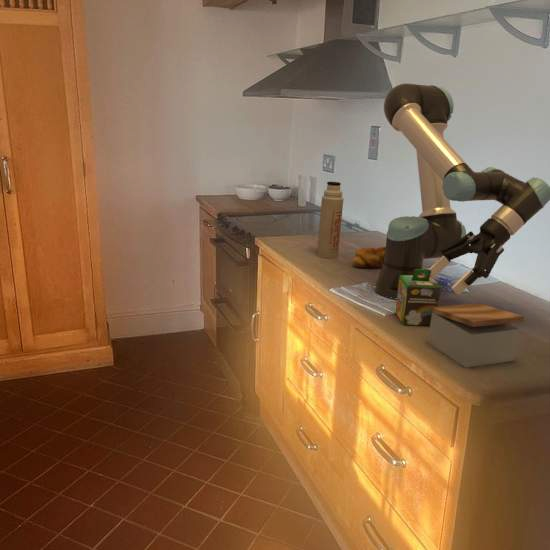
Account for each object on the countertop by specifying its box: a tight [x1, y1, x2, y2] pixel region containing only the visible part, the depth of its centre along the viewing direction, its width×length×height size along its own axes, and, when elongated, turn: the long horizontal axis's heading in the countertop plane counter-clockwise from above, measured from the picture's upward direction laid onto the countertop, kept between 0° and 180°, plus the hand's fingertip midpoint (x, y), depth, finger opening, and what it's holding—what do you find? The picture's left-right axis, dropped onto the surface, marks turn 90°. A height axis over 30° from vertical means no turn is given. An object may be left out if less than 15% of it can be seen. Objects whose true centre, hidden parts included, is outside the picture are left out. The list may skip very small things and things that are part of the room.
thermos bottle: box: [316, 181, 344, 260], centre depth 206 cm, size 8×8×28 cm
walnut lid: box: [431, 302, 525, 327], centre depth 130 cm, size 15×14×1 cm
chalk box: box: [395, 268, 442, 327], centre depth 148 cm, size 9×9×15 cm
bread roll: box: [352, 246, 386, 269], centre depth 199 cm, size 13×10×8 cm
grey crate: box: [427, 313, 521, 368], centre depth 131 cm, size 14×14×8 cm
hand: (441, 283), depth 146 cm, fingers open, 13 cm apart
